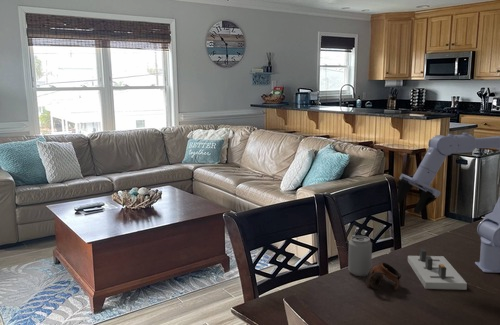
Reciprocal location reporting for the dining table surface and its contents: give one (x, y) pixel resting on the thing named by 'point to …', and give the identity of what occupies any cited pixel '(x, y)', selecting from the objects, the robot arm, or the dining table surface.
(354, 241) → the can
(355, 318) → the dining table surface
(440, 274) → the handle
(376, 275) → the pottery mug
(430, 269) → the breaker panel
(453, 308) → the dining table surface
